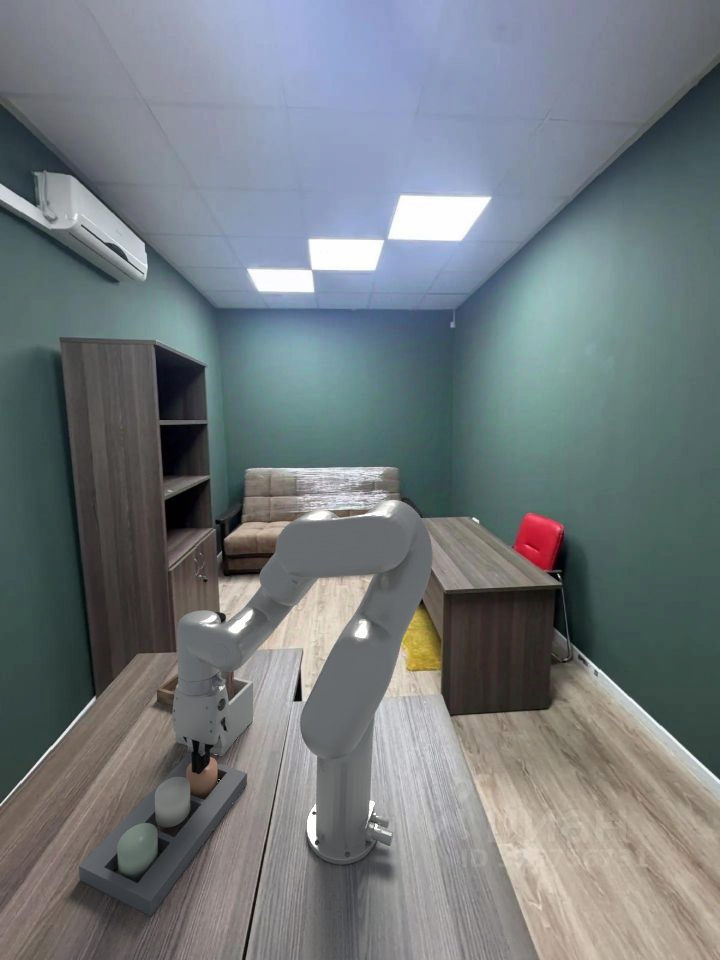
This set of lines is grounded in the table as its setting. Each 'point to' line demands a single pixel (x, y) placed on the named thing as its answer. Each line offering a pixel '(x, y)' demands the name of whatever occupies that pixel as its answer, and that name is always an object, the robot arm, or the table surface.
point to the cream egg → (172, 801)
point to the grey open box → (235, 714)
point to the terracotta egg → (203, 780)
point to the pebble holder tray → (162, 843)
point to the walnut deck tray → (167, 691)
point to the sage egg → (137, 851)
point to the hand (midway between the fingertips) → (200, 767)
